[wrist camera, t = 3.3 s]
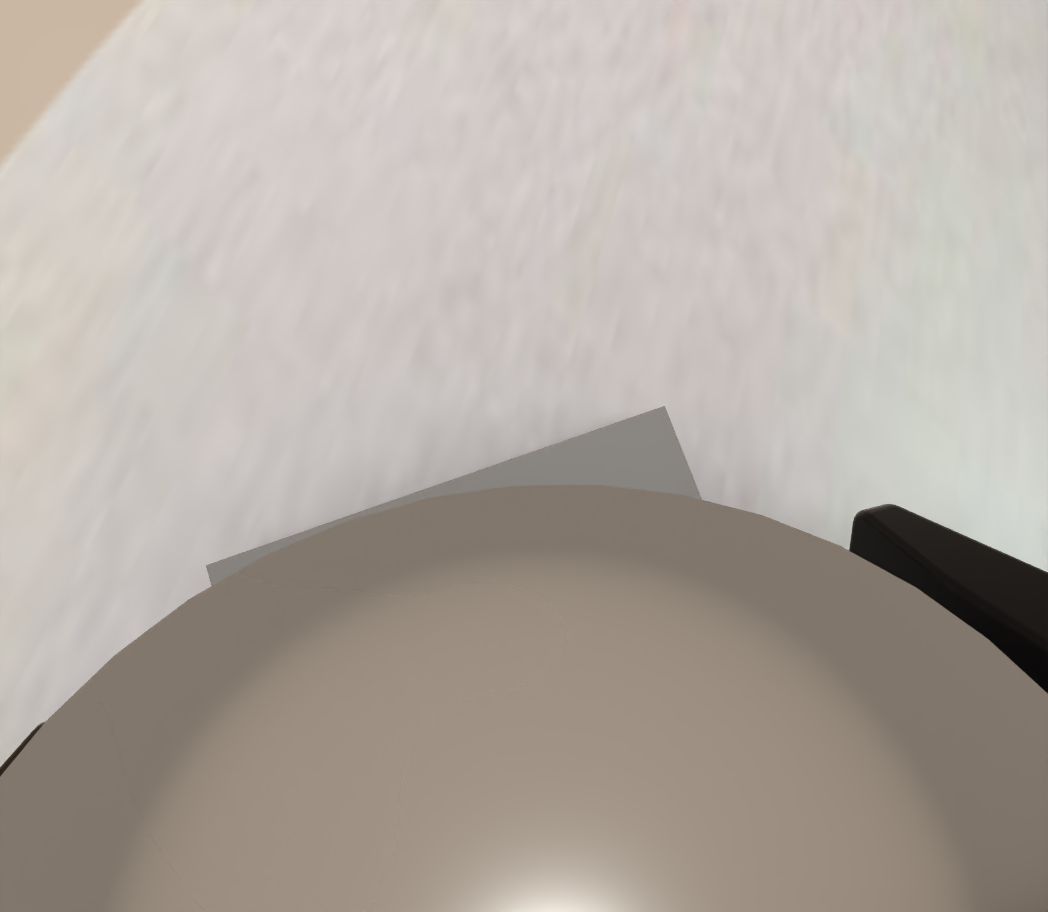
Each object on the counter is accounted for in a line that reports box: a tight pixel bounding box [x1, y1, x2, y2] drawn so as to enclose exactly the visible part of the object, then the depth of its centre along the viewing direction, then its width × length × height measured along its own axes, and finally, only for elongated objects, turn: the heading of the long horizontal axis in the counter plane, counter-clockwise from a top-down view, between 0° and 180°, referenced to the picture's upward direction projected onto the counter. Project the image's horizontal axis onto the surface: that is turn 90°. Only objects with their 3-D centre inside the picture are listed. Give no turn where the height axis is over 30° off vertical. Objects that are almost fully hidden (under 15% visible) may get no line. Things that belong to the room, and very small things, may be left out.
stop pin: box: [0, 485, 1048, 912], centre depth 9 cm, size 4×4×14 cm
